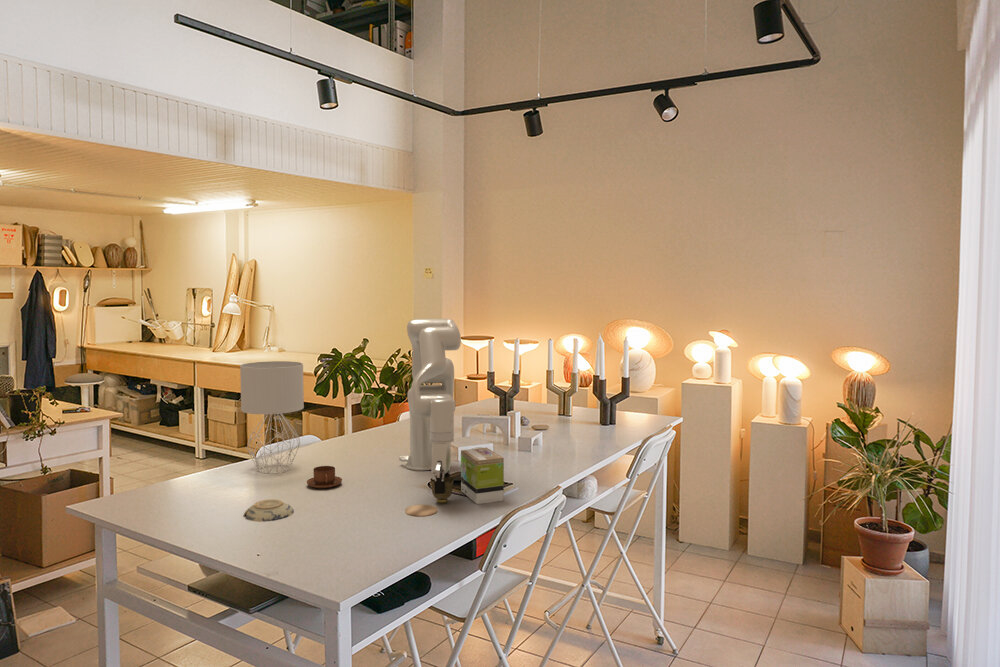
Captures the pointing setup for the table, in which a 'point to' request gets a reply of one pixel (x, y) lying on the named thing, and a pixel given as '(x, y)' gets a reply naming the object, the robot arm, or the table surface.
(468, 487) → the tea box
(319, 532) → the table surface
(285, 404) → the table lamp
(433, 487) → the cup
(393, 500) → the table surface
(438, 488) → the robot arm
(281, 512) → the decorative bowl
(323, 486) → the cup and saucer
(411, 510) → the cork coaster
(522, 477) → the table surface
